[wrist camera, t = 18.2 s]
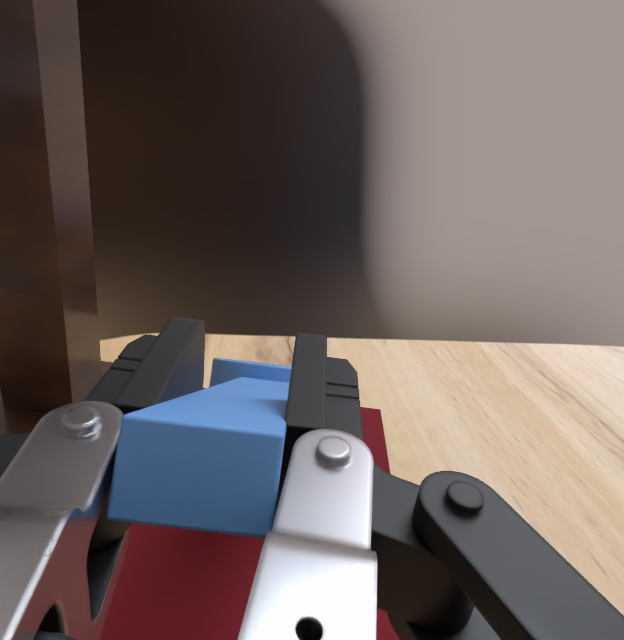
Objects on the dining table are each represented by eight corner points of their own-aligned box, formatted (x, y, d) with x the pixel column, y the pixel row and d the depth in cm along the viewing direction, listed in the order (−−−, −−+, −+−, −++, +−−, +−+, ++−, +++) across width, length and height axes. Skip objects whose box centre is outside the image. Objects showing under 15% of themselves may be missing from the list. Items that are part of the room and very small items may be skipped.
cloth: (-30, 752, 16) (-32, 747, 16) (165, 386, 35) (165, 383, 35) (439, 800, 16) (441, 795, 16) (379, 412, 35) (380, 409, 35)
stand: (-141, 507, 23) (-585, -733, 10) (17, 364, 35) (-80, -283, 21) (76, 532, 23) (-52, -641, 10) (160, 382, 35) (156, -246, 22)
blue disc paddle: (-20, 507, 6) (6, 353, 7) (217, 396, 26) (222, 358, 26) (392, 555, 7) (408, 402, 7) (320, 409, 26) (324, 370, 26)
